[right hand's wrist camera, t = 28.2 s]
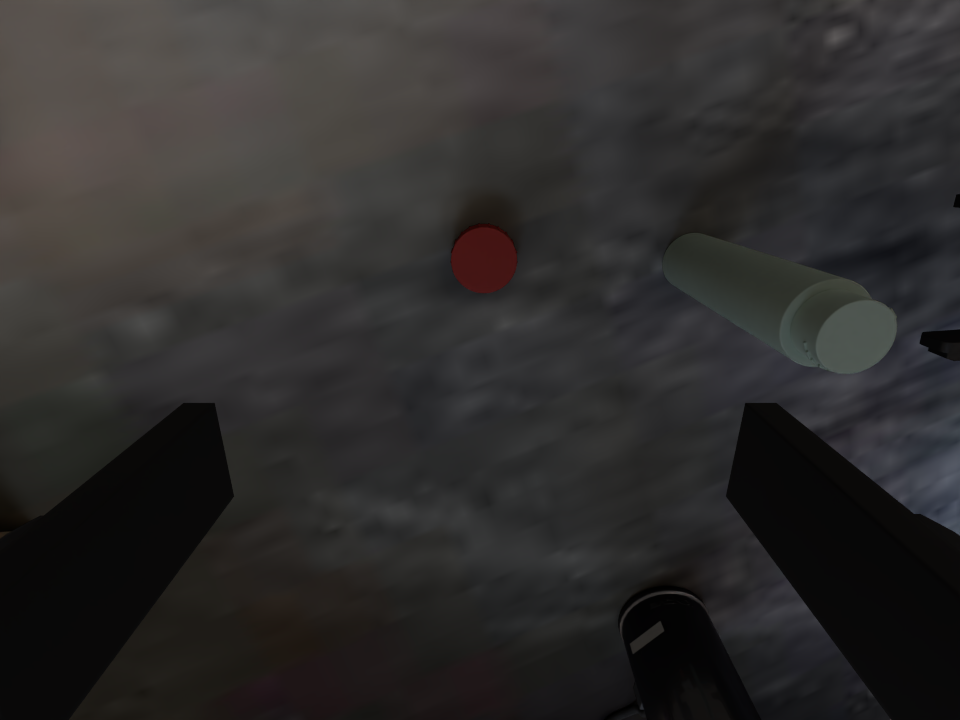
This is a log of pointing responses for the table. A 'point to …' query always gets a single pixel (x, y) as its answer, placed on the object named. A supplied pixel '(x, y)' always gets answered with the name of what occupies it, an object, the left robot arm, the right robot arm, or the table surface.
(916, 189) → the table surface
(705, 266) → the bottle
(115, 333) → the table surface
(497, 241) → the lid
